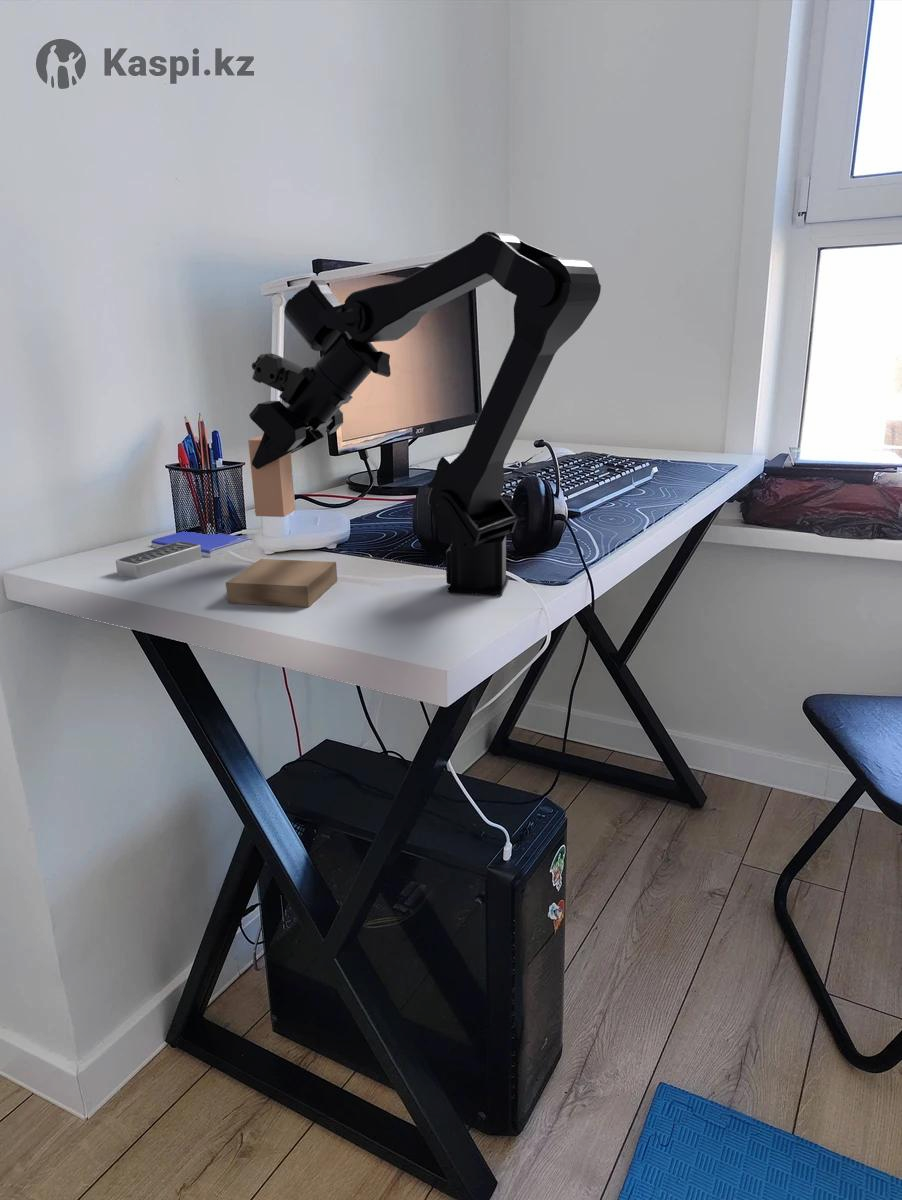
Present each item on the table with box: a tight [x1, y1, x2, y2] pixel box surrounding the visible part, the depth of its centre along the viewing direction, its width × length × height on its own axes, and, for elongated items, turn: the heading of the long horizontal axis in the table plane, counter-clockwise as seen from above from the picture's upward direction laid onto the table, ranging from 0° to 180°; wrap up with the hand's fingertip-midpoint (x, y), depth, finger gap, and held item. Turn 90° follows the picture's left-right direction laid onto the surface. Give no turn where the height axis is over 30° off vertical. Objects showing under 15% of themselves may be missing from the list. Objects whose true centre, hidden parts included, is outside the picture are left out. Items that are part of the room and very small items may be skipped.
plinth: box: [225, 558, 338, 608], centre depth 103 cm, size 10×10×2 cm
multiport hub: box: [115, 542, 203, 580], centre depth 115 cm, size 4×11×2 cm, turn 148°
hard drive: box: [151, 530, 254, 558], centre depth 125 cm, size 2×8×12 cm
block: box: [248, 435, 296, 518], centre depth 113 cm, size 4×4×10 cm
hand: (261, 463), depth 113 cm, fingers closed on block, 4 cm apart
